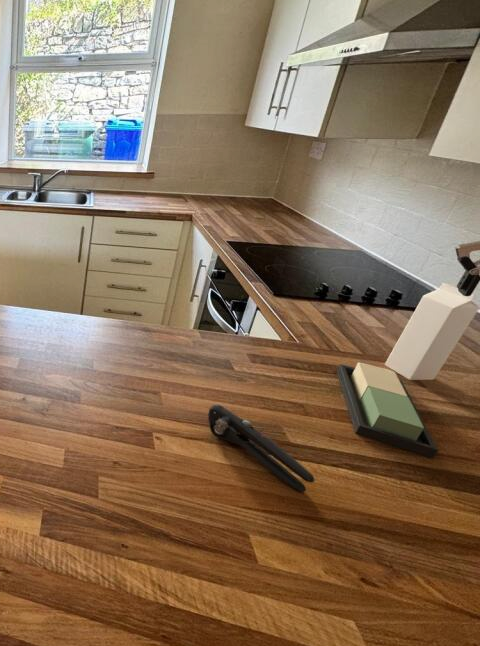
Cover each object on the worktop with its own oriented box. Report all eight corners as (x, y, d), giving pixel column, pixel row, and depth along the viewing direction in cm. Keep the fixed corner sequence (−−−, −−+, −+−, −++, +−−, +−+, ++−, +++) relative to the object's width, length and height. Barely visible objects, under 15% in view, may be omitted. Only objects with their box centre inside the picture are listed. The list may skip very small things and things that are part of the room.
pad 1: (386, 385, 89) (394, 371, 87) (398, 412, 81) (407, 396, 80) (350, 376, 92) (358, 361, 90) (359, 400, 84) (367, 385, 83)
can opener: (194, 425, 78) (202, 403, 75) (219, 416, 80) (227, 394, 78) (291, 502, 63) (304, 477, 61) (318, 487, 66) (332, 463, 63)
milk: (406, 364, 97) (455, 282, 88) (434, 380, 92) (489, 294, 83) (383, 364, 97) (430, 282, 88) (409, 380, 92) (462, 294, 82)
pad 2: (399, 412, 81) (408, 397, 79) (413, 444, 74) (424, 428, 72) (360, 401, 84) (368, 386, 82) (369, 430, 77) (379, 414, 75)
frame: (397, 387, 89) (401, 380, 88) (432, 458, 71) (438, 450, 71) (336, 370, 94) (339, 363, 94) (355, 433, 77) (359, 425, 76)
